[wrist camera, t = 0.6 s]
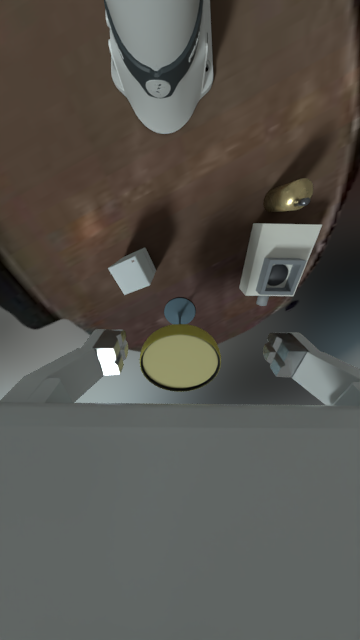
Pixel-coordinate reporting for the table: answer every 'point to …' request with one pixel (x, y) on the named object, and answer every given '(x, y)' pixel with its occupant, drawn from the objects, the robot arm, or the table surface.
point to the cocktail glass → (180, 352)
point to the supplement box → (133, 271)
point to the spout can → (289, 196)
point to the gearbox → (276, 259)
